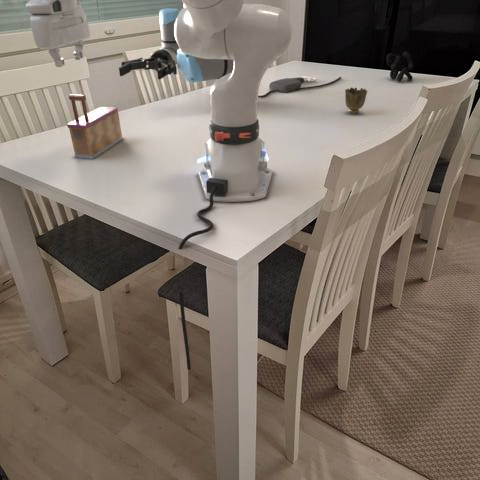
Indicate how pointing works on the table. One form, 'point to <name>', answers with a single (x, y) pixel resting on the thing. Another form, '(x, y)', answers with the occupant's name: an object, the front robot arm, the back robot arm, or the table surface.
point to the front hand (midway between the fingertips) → (70, 62)
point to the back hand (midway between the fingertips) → (139, 73)
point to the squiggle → (399, 66)
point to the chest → (96, 137)
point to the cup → (355, 99)
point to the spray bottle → (289, 83)
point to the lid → (90, 117)
